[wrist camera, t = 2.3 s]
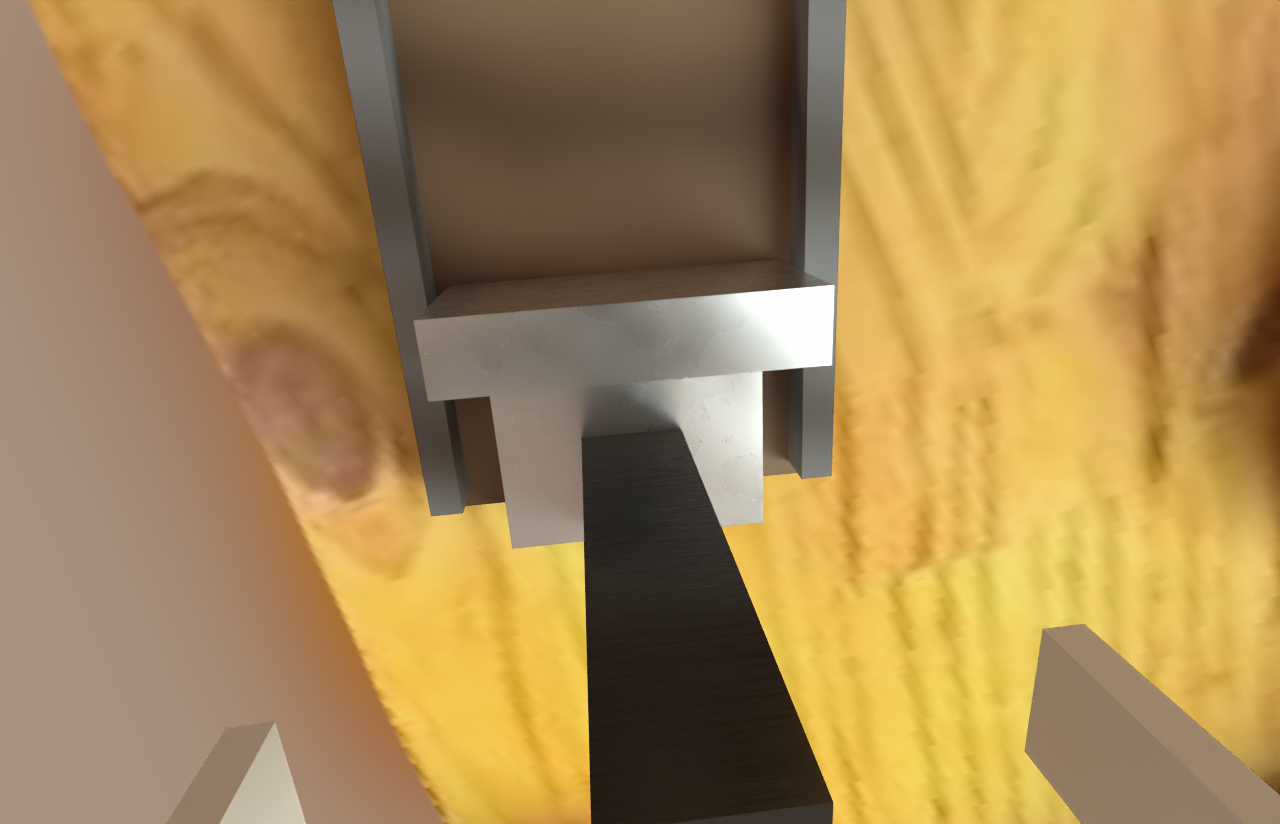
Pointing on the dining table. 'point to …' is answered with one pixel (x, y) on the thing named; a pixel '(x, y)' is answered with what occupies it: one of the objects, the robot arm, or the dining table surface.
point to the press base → (596, 171)
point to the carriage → (651, 510)
